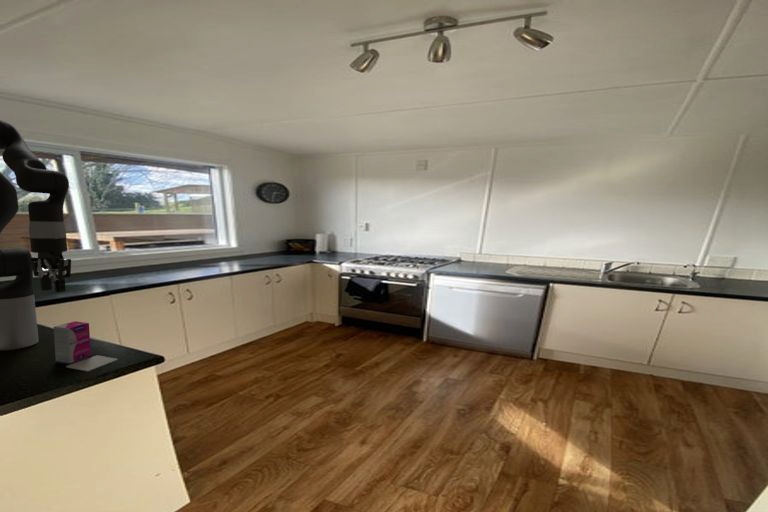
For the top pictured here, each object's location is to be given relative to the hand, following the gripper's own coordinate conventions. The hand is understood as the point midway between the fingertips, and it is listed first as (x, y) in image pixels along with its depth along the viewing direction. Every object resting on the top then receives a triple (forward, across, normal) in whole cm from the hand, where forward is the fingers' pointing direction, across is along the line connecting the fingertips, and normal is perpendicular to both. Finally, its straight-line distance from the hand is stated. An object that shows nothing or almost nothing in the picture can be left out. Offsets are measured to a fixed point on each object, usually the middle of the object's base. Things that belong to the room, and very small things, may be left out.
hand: (53, 290), depth 95 cm
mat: (+21, +14, 0) cm, 26 cm away
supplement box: (+22, +6, 0) cm, 23 cm away
